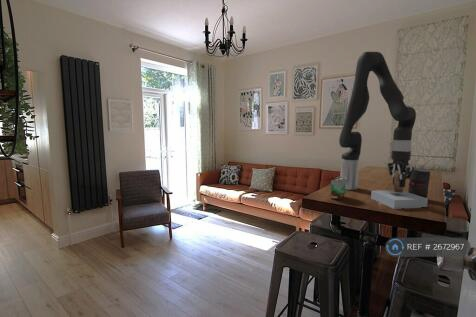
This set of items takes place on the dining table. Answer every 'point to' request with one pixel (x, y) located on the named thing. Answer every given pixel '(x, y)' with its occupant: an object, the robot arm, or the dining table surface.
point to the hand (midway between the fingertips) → (398, 185)
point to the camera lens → (419, 182)
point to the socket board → (399, 199)
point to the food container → (338, 188)
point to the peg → (397, 182)
